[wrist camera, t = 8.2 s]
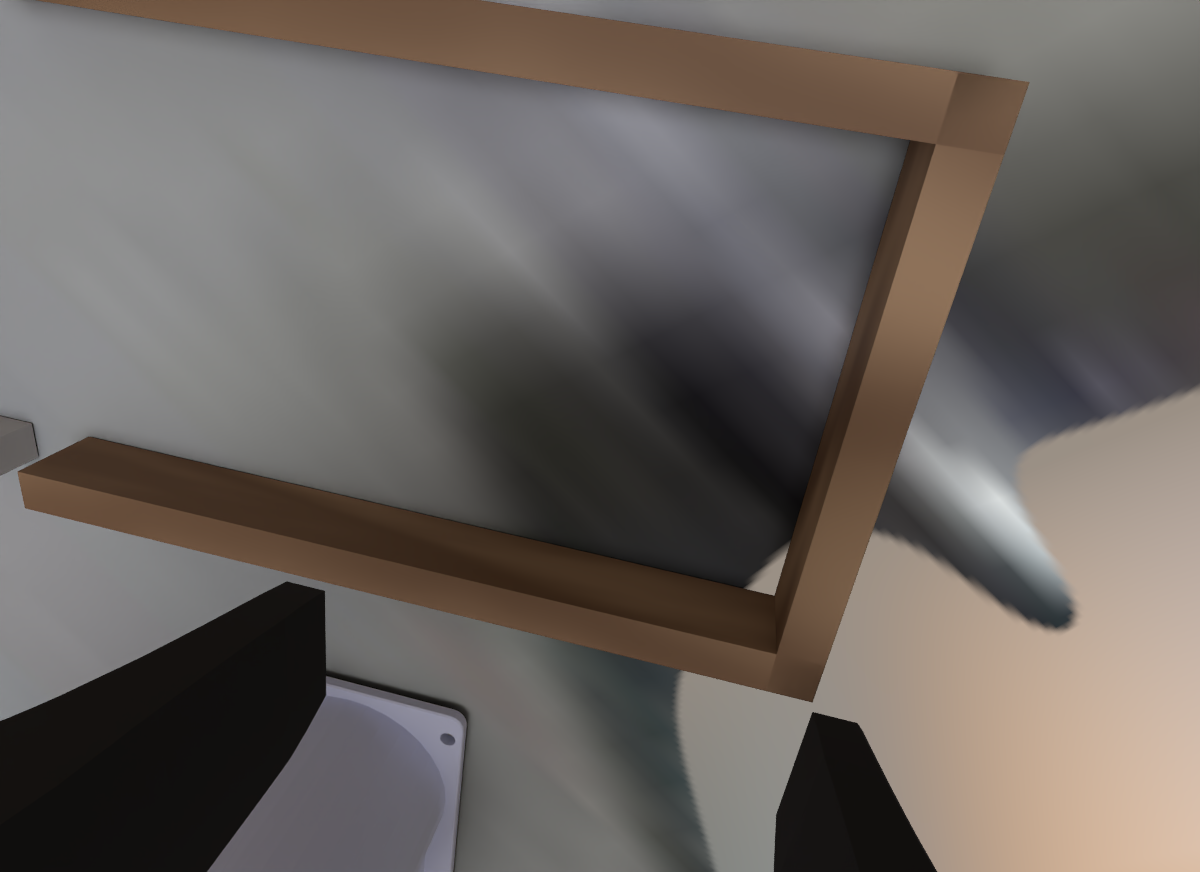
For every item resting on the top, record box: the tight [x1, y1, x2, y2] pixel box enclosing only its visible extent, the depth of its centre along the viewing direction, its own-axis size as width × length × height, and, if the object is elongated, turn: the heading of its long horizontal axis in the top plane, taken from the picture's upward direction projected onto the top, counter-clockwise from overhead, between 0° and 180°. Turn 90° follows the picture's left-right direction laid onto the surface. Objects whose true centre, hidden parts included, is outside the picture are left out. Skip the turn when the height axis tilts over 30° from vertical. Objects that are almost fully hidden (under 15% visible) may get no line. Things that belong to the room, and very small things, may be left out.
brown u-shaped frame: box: [18, 0, 1029, 702], centre depth 18 cm, size 14×23×2 cm, turn 82°
